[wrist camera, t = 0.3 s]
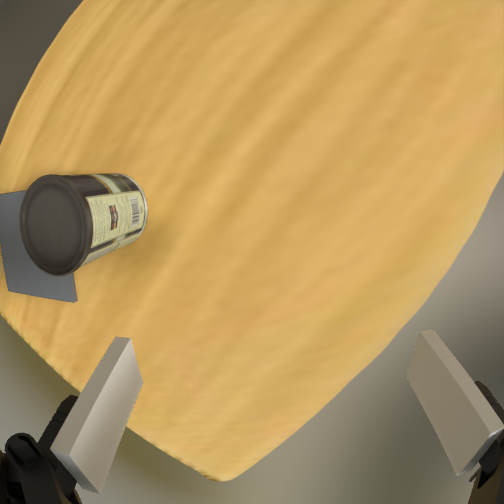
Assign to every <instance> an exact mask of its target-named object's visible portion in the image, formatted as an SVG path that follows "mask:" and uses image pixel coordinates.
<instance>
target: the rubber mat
mask: <svg viewBox="0 0 504 504" xmlns="http://www.w3.org/2000/svg"><path fill="white" fill-rule="evenodd" d="M26 192H27V191H20V192H13V193H6V194H0V243H1V251H2V258H3V264H4V271H5V276H6V282H7V287H8V291H10V292H15V293H21V294H26V295H31V296H37V297H43V298H48V299H54V300H60V301H67V302H73V303H74V302H76V301H78V300H77V294H76V288H75V281H74V274H73V272H72V273H71V274H68V275H66V276H61V277H57V276H52V275H49V274H47V273H45V272H43V271H42V270H40V269H39V268H38V267H37V266H36V265H35V264H34V263H33V261H32V260H31V259H30V257H29V255H28V253H27V251H26V249H25V247H24V244H23V241H22V237H21V233H20V209H21V205H22V201H23V198H24V196H25V194H26Z"/></svg>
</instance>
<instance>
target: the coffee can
mask: <svg viewBox="0 0 504 504" xmlns="http://www.w3.org/2000/svg"><path fill="white" fill-rule="evenodd" d="M147 216H148V206H147V200H146V197H145V194H144V192H143V190H142V188H141V187H140V186H139V184H138V183H137V182H136V181H135V180H134V179H132V178H131V177H129V176H127V175H124V174H121V173H113V174H91V175H61V176H60V175H45V176H42V177H40V178H38V179H37V180H36V181H35V182H33V184H32V185H31V186H30V187H29V188H28V190H27V192H26V194H25V196H24V198H23V201H22V205H21V209H20V233H21V237H22V241H23V244H24V247H25V249H26V251H27V253H28V255H29V257H30V259H31V260H32V261H33V263H34V264H35V265H36V266H37V267H38V268H39V269H40V270H42V271H43V272H45V273H47V274H49V275H52V276H57V277H61V276H66V275H68V274H71V273H72V272H74V271H76V270H77V269H78V268H79V267H81V266H83V265H85V264H87V263H89V262H91V261H94V260H96V259H98V258H100V257H102V256H104V255H106V254H108V253H110V252H112V251H114V250H117V249H119V248H121V247H123V246H126V245H129V244H131V243H133V242H134V241H135V240H136V239H137V238H138V237H139V236H140V235H141V233H142V232H143V230H144V228H145V225H146V222H147Z"/></svg>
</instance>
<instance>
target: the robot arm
mask: <svg viewBox="0 0 504 504" xmlns="http://www.w3.org/2000/svg"><path fill="white" fill-rule="evenodd" d="M406 377H407V379H408V381H409V383H410V384H411V386H412V388H413V390H414V392H415V393H416V395H417V397H418V399H419V401H420V403H421V405H422V406H423V408H424V410H425V412H426V414H427V416H428V418H429V420H430V422H431V423H432V425H433V427H434V429H435V431H436V433H437V435H438V437H439V439H440V441H441V443H442V445H443V447H444V449H445V451H446V454H447V455H448V458H449V460H450V462H451V464H452V466H453V468H454V470H455V473H456V475H457V476H458V475H461V474H463V473H465V472H468V471H470V470H471V469H473V467H474V466H475V465H476V464H477V463H478V461H479V463H480V465H481V467H480V468H479V469H478V470H477V471H476V472H475V473H474V475H473V476H472V477H471V478H470V480H469V482H471V481H472V480H473V479H474V478H475V477H476V479H475V482H474V486H473V489H472V492H471V496H470V499H469V502H468V504H504V410H503V409H502V407H501V406H500V404H499V403H497V400H496V399H495V398H494V397H493V396H492V393H491V392H490V391H489V389H488V388H487V387H486V386H485V385H483V384H482V383H481V382H479V381H475V382H473V380H472V379H471V378H470V376H469V375H468V374H467V372H466V371H465V370H464V368H463V367H462V366H461V365H460V363H459V362H458V361H457V359H456V358H455V357H454V356H453V354H452V353H451V352H450V350H449V349H448V348H447V347H446V345H445V344H444V343H443V342H442V340H441V339H440V338H439V337H438V336H437V334H436V333H435V332H434V331H433V330H426V331H420V332H419V336H418V339H417V342H416V345H415V349H414V352H413V355H412V358H411V361H410V364H409V367H408V370H407V373H406ZM142 384H143V381H142V377H141V374H140V371H139V367H138V364H137V360H136V356H135V353H134V349H133V345H132V341H131V338H124V337H115V339H114V340H113V342H112V343H111V345H110V346H109V348H108V350H107V351H106V353H105V354H104V356H103V358H102V359H101V361H100V362H99V364H98V366H97V367H96V369H95V371H94V372H93V374H92V376H91V377H90V379H89V381H88V382H87V384H86V386H85V387H84V389H83V391H82V392H81V394H80V396H79V397H78V396H74V395H70V396H69V397H67V398H66V399H65V400H64V401H62V402H61V404H60V406H59V407H58V409H57V411H56V413H55V414H54V416H53V417H52V421H50V422H49V424H48V426H47V427H46V429H45V431H44V433H43V434H42V436H41V438H40V440H39V441H38V443H37V442H36V441H35V440H34V438H33V437H31V436H30V435H29V434H26V433H17V434H15V435H13V436H11V437H10V438H9V439H8V440H7V442H6V444H5V452H6V453H2V451H1V450H0V504H82V502H81V500H80V497H79V495H78V493H77V491H76V490H75V485H76V483H77V482H78V484H79V485H80V486H81V487H82V488H83V489H86V490H88V491H92V492H95V493H98V494H101V492H102V489H103V486H104V483H105V481H106V478H107V475H108V472H109V470H110V467H111V464H112V461H113V458H114V456H115V453H116V450H117V448H118V445H119V443H120V440H121V437H122V434H123V432H124V429H125V427H126V424H127V422H128V419H129V417H130V414H131V412H132V409H133V407H134V404H135V402H136V399H137V397H138V394H139V392H140V389H141V387H142Z"/></svg>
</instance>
